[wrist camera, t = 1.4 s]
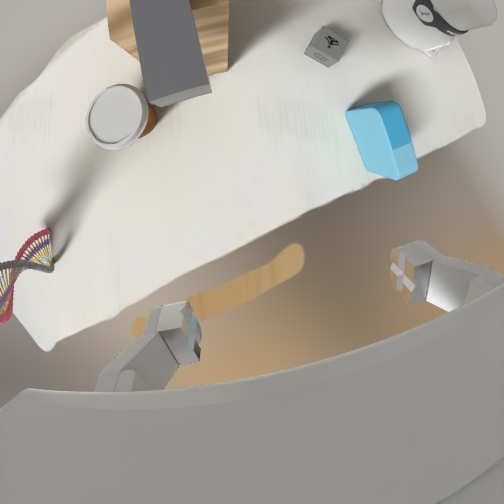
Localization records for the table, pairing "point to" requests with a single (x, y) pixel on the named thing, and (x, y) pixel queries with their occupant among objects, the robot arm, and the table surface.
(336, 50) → the dice cube
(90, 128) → the disposable coffee cup
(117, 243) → the table surface
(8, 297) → the dna model
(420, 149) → the table surface
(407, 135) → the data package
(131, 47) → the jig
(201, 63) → the grey rectangular bar
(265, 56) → the table surface
